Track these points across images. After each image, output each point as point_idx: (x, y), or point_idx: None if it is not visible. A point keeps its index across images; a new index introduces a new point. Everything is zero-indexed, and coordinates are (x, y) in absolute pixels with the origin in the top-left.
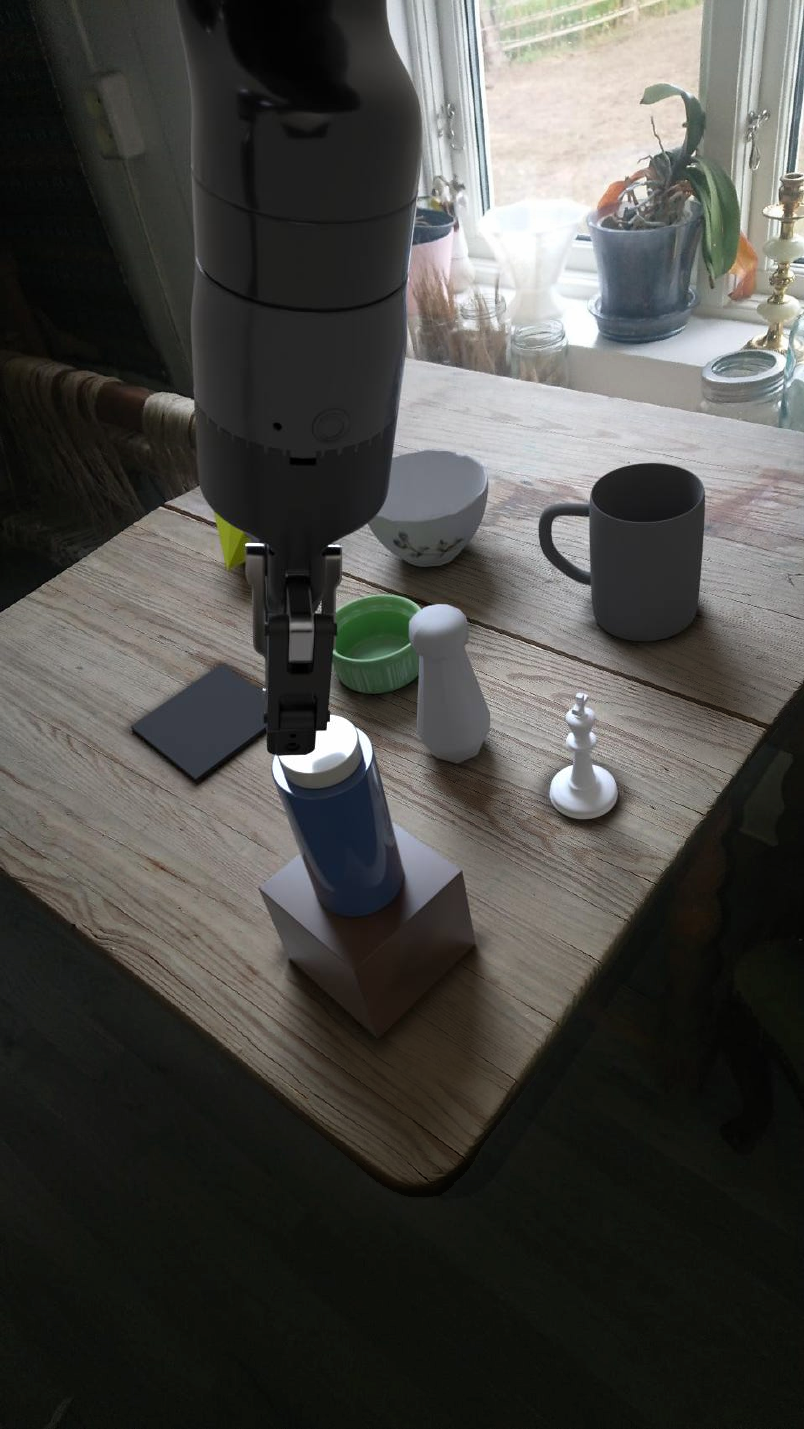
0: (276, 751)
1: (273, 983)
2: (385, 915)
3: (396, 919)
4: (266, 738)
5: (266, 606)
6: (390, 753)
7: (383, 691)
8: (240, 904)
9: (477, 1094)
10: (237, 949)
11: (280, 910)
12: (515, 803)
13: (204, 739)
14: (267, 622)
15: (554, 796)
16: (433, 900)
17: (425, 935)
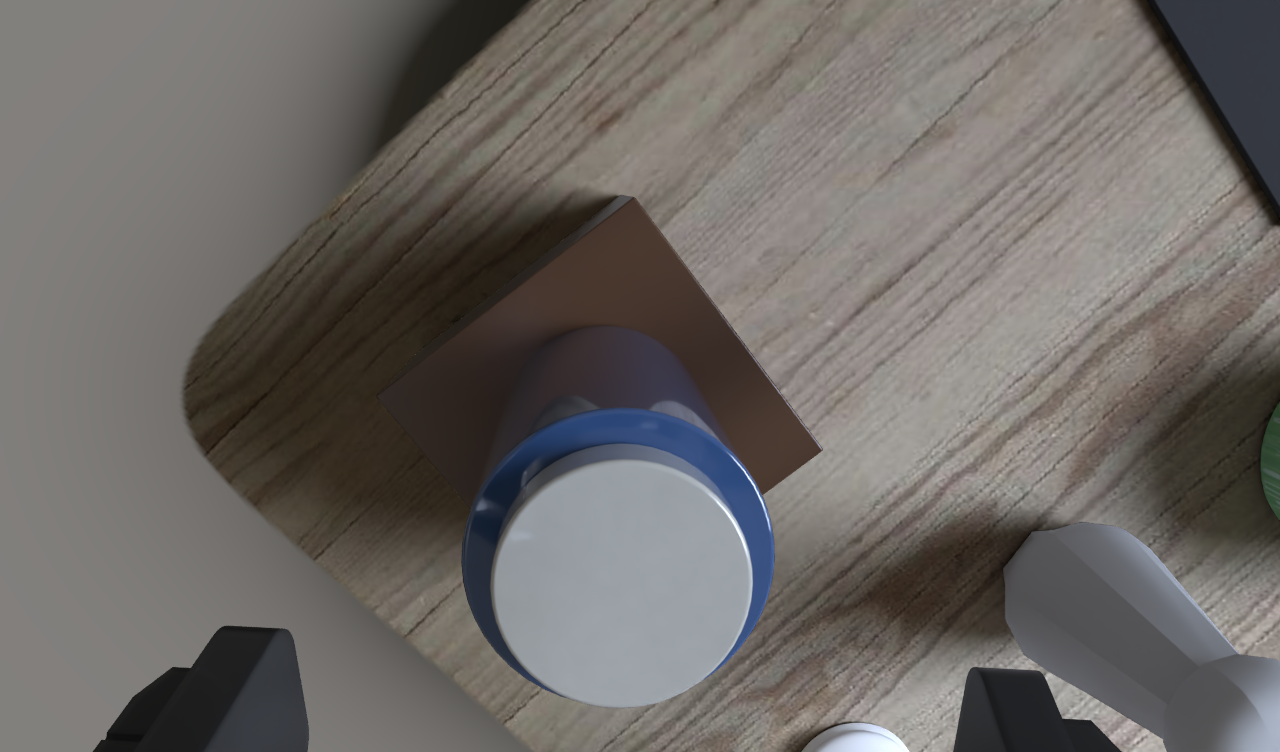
0: (142, 695)
1: (570, 163)
2: None
3: None
4: (262, 639)
5: (993, 745)
6: (1077, 440)
7: (1263, 447)
8: (770, 98)
9: (295, 500)
10: (663, 90)
11: (574, 241)
12: (867, 659)
13: (1271, 12)
14: (970, 673)
15: (850, 738)
16: None
17: None
